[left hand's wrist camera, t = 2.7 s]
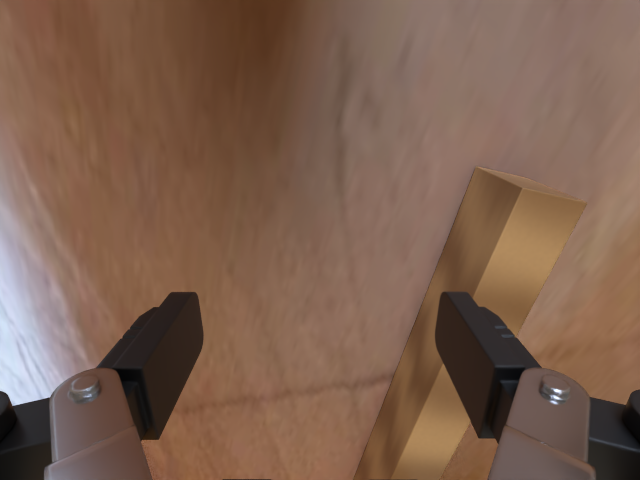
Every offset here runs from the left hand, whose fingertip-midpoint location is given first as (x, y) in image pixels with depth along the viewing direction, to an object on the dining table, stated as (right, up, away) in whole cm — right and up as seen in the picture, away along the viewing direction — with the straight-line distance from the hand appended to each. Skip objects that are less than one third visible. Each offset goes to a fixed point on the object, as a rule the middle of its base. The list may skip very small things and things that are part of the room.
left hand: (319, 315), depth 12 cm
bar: (+9, -16, +27) cm, 32 cm away
